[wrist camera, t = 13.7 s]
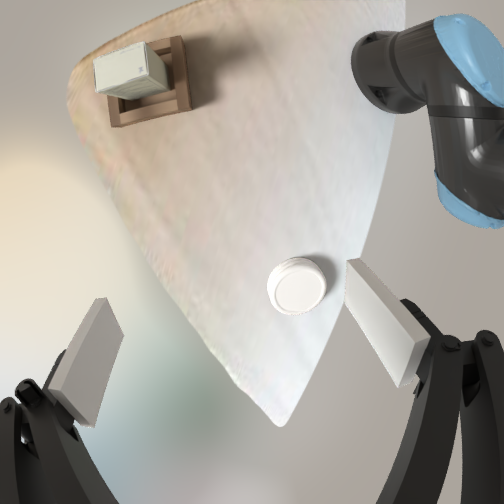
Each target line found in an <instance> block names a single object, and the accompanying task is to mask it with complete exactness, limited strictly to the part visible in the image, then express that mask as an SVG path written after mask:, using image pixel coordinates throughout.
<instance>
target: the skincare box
mask: <svg viewBox="0 0 504 504" xmlns="http://www.w3.org/2000/svg"><path fill="white" fill-rule="evenodd" d="M93 67H94V82H95V91H96V92H97V93H101V94H106V95H110V96H115V97H119V98H123V99H127V100H131V101H133V100H137V99H141V98H145V97H148V96H152V95H156V94H160V93H163V92H167V91H170V90H171V87H170V78H169V71H168V66H167V64H166V63H165V62H164V61H163V60H162V59H161V58H160V57H159V56H158V55H157V54H156V53H155V52H154V51H153V50H152V49H151V48H150V47H149V46H148V45H147V44H146V43H145V42H144V41H143V42H139V43H136V44H132V45H129V46H126V47H123V48H120V49H118V50H115V51H112V52H110V53H107V54H105V55H102V56H100V57H98V58H96V59H94V60H93Z"/></svg>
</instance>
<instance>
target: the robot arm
mask: <svg viewBox="0 0 504 504" xmlns="http://www.w3.org/2000/svg"><path fill="white" fill-rule="evenodd" d="M351 66H352V71H353V75H354V78H355V80H356V83H357V85H358V86H359V88H360V90H361V91H362V93H363V94H364V95H365V96H366V98H367V99H368V100H369V101H370V102H371V103H373V104H374V105H375V106H376V107H378V108H380V109H381V110H384V111H386V112H389V113H394V114H406V113H411V112H414V111H416V110H418V109H420V108H421V107H423V106H425V105H426V104H427V108H428V114H429V120H430V125H431V133H432V141H433V150H434V158H435V159H434V160H435V170H434V172H435V177H436V179H437V189H438V196H439V199H440V202H441V203H442V204H443V205H444V207H445V209H446V210H447V211H448V212H449V213H451V214H452V215H453V216H455V217H456V218H458V219H460V220H461V221H463V222H466V223H468V224H471V225H473V226H476V227H480V228H486V229H487V228H489V227H491V228H493V229H498V228H501V227H503V226H504V48H503V47H502V45H501V44H500V42H499V41H498V39H497V38H496V37H495V36H494V34H493V33H492V32H491V31H490V30H489V29H488V28H487V27H486V26H485V25H484V24H483V23H481V22H480V21H479V20H477V19H476V18H473V17H472V16H469V15H466V14H454V15H449V16H439V17H436V18H435V19H433V20H430V21H427V22H424V23H421V24H419V25H416V26H413V27H411V28H408V29H406V30H404V31H401V32H395V31H376V32H372V33H370V34H368V35H366V36H364V37H362V38H361V39H360V40H359V41H358V42H357V43H356V44H355V46H354V48H353V51H352V56H351ZM344 303H345V304H346V306H347V307H348V309H349V310H350V312H351V314H352V315H353V317H354V318H355V319H356V321H357V323H358V324H359V326H360V327H361V329H362V330H363V332H364V334H365V335H366V337H367V338H368V340H369V342H370V343H371V345H372V346H373V348H374V350H375V351H376V353H377V354H378V356H379V358H380V359H381V361H382V363H383V364H384V366H385V368H386V369H387V371H388V373H389V374H390V376H391V378H392V379H393V381H394V383H395V384H396V386H397V388H399V387H402V386H404V385H406V384H409V383H411V382H412V381H413V379H414V377H415V374H417V375H418V377H419V378H420V380H419V383H418V384H417V386H416V389H415V390H414V392H413V394H415V393H416V395H415V398H414V402H413V406H412V410H411V413H410V417H409V420H408V424H407V427H406V430H405V434H404V436H403V439H402V442H401V446H400V448H399V451H398V454H397V457H396V459H395V462H394V464H393V467H392V470H391V472H390V474H389V476H388V479H387V481H386V483H385V485H384V488H383V490H382V492H381V494H380V496H379V498H378V500H377V502H376V504H437V501H438V498H439V496H440V493H441V490H442V486H443V484H444V480H445V477H446V474H447V470H448V466H449V462H450V458H451V454H452V449H453V445H454V440H455V435H456V429H457V423H458V417H459V411H460V420H461V433H462V454H463V455H462V459H463V464H462V466H463V467H462V470H463V471H462V492H461V504H504V351H503V349H502V346H501V343H500V341H499V339H498V337H497V335H495V334H494V333H493V332H491V331H488V330H482V331H479V332H478V333H477V335H476V337H475V339H474V340H472V341H464V342H461V341H460V340H459V339H458V338H456V337H454V336H451V335H443V334H442V333H441V332H440V331H439V329H438V328H437V327H436V326H435V325H434V324H433V323H432V322H431V321H430V320H429V318H428V317H426V315H425V314H424V313H423V312H422V311H421V310H420V308H418V306H417V305H416V304H415V303H413V302H411V301H409V300H408V299H403V300H399V299H398V298H397V297H396V296H395V295H394V294H393V293H392V292H391V291H390V290H389V289H388V288H387V286H386V285H384V283H383V282H382V281H381V280H380V279H379V278H378V277H377V276H376V275H375V274H374V273H373V272H372V271H371V270H370V269H369V267H367V265H366V264H365V263H364V262H363V261H362V260H361V259H360V258H357V259H351V260H347V263H346V283H345V298H344ZM123 337H124V334H123V333H122V330H121V328H120V326H119V324H118V322H117V320H116V318H115V315H114V313H113V311H112V309H111V306H110V304H109V302H108V300H107V298H99V299H95V301H94V302H93V304H92V306H91V307H90V309H89V311H88V313H87V314H86V316H85V318H84V319H83V321H82V323H81V325H80V326H79V328H78V330H77V332H76V333H75V335H74V337H73V339H72V341H71V342H70V344H69V346H68V348H67V349H65V350H64V351H63V352H62V353H61V354H60V355H59V356H58V358H57V360H56V362H55V365H54V366H53V368H52V371H51V372H50V374H49V376H48V378H47V380H46V382H45V384H44V386H43V388H42V390H41V389H40V387H39V386H38V385H37V384H36V383H35V381H34V380H32V379H25V380H23V381H22V382H20V383H19V385H18V386H17V387H16V390H15V396H16V397H17V398H18V399H19V400H20V402H21V404H18V403H17V402H16V401H15V400H14V399H13V398H12V397H7V398H5V399H3V400H2V401H1V403H0V504H119V503H118V501H117V500H116V499H115V497H114V496H113V494H112V493H111V491H110V490H109V488H108V486H107V485H106V483H105V481H104V480H103V478H102V477H101V475H100V473H99V471H98V470H97V468H96V466H95V464H94V463H93V461H92V459H91V457H90V455H89V453H88V451H87V449H86V447H85V446H84V443H83V441H82V439H81V437H80V435H79V433H78V430H77V429H76V427H75V426H74V425H73V423H74V420H76V421H77V422H78V423H79V424H80V425H81V426H85V427H92V428H94V427H95V424H96V420H97V416H98V412H99V409H100V406H101V402H102V399H103V396H104V392H105V389H106V386H107V383H108V380H109V377H110V374H111V370H112V368H113V365H114V362H115V359H116V356H117V353H118V350H119V348H120V345H121V342H122V340H123ZM21 437H23V438H24V439H25V443H22V442H21Z"/></svg>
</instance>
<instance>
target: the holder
mask: <svg viewBox="0 0 504 504" xmlns="http://www.w3.org/2000/svg"><path fill="white" fill-rule="evenodd" d="M147 45H148V46H149V47H150V48H151V49H152V50H153V51H154V52H155V53H156V54H157V55H158V56H159V57H160V58H161V59H162V60H163V61H164V62H165V63H166V64H167V66H168V71H169V78H170V87H171V90H170V91H167V92H163V93H160V94H156V95H152V96H148V97H145V98H141V99H137V100H133V101H131V100H127V99H123V98H119V97H115V96H110V95H107V98H108V107H109V115H110V122H111V127H124V126H128V125H131V124H135V123H138V122H142V121H146V120H150V119H154V118H158V117H162V116H167V115H171V114H176V113H181V112H186V111H191V110H192V104H191V96H190V88H189V80H188V72H187V64H186V55H185V46H184V42H183V40H182V37H181V35H180V36H175V37H171V38H166V39H162V40H158V41H154V42H150V43H147Z"/></svg>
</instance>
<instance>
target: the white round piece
mask: <svg viewBox="0 0 504 504" xmlns="http://www.w3.org/2000/svg"><path fill="white" fill-rule="evenodd" d="M326 289H327V283H326V278H325V276H324V274H323V273H322V271H321V270H320V268H319V267H318V266H317V265H316V264H315V263H314V262H312V261H311V260H308V259H305V258H292V259H289V260H286V261H284V262H282V263H281V264H279V265H278V266H277V267H276V268H275V269H274V270H273V271H272V273H271V274H270V277H269V279H268V283H267V290H268V294H269V297H270V300H271V303H272V304H273V306H274V307H275V308H276V309H277V310H278V311H280V312H282V313H284V314H288V315H300V314H303V313H306V312H308V311H310V310H312V309H313V308H315V307H316V306H317V305H318V304H319V303H320V302H321V301H322V299H323V297H324V296H325V293H326Z"/></svg>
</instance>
